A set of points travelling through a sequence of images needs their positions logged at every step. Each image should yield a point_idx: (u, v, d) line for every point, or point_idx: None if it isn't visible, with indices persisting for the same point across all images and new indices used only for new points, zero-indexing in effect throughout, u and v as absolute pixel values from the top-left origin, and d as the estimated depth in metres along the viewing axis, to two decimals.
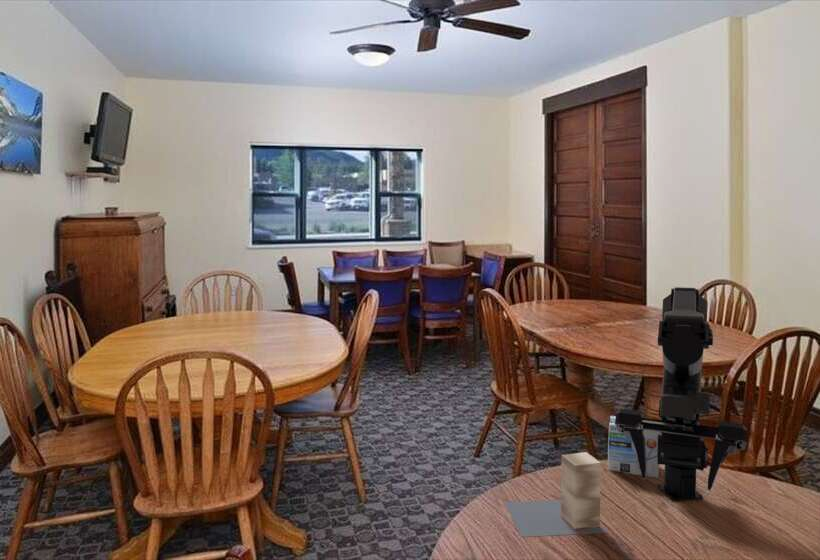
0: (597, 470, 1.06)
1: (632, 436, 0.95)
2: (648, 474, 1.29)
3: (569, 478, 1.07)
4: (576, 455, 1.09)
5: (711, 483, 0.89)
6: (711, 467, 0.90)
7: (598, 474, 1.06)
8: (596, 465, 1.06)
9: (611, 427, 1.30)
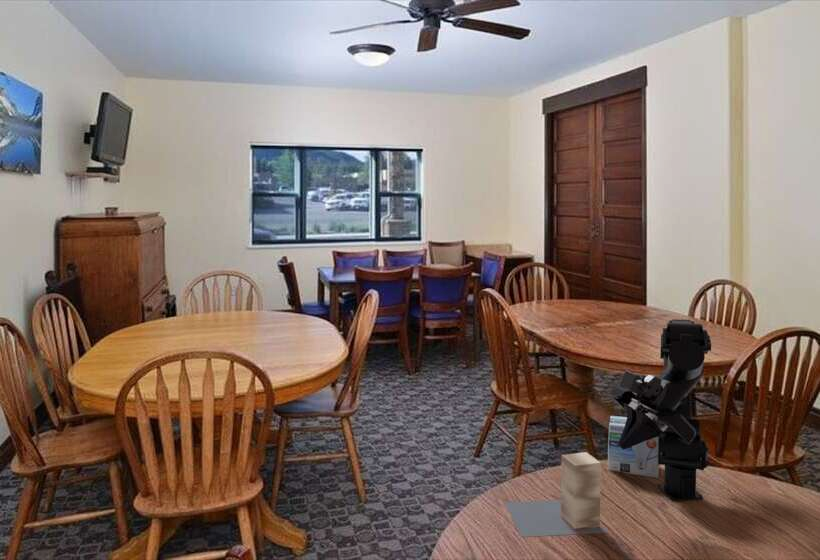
0: (597, 470, 1.06)
1: (627, 412, 1.12)
2: (648, 474, 1.29)
3: (569, 478, 1.07)
4: (576, 455, 1.09)
5: (622, 442, 1.09)
6: (629, 431, 1.09)
7: (598, 474, 1.06)
8: (596, 465, 1.06)
9: (611, 427, 1.30)
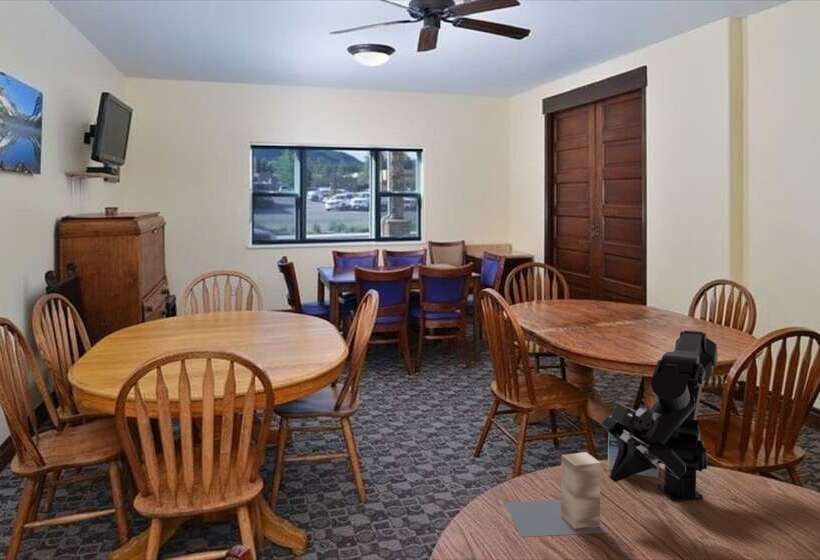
0: (597, 470, 1.06)
1: (618, 444, 1.12)
2: (648, 474, 1.29)
3: (569, 478, 1.07)
4: (576, 455, 1.09)
5: (614, 475, 1.09)
6: (620, 464, 1.10)
7: (598, 474, 1.06)
8: (596, 465, 1.06)
9: None
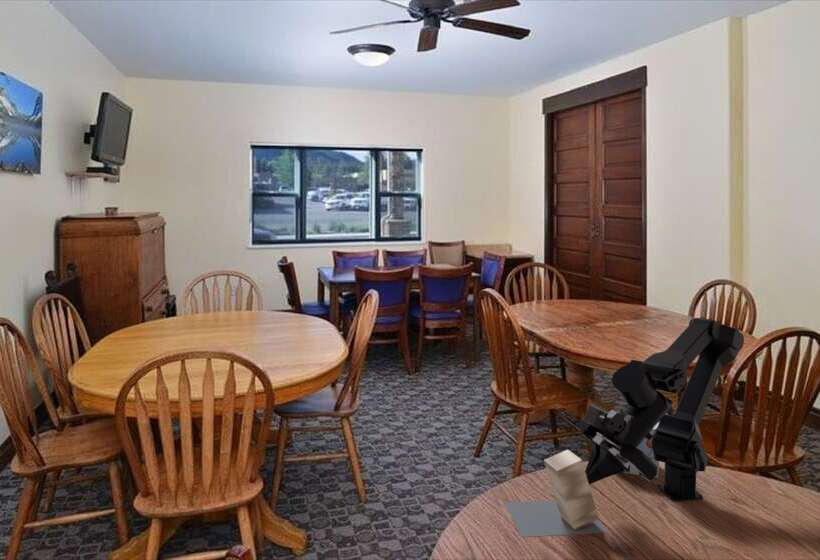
0: (580, 468, 1.05)
1: (591, 447, 1.11)
2: None
3: (556, 482, 1.07)
4: (558, 456, 1.09)
5: None
6: (592, 467, 1.08)
7: (582, 471, 1.06)
8: (578, 463, 1.05)
9: None
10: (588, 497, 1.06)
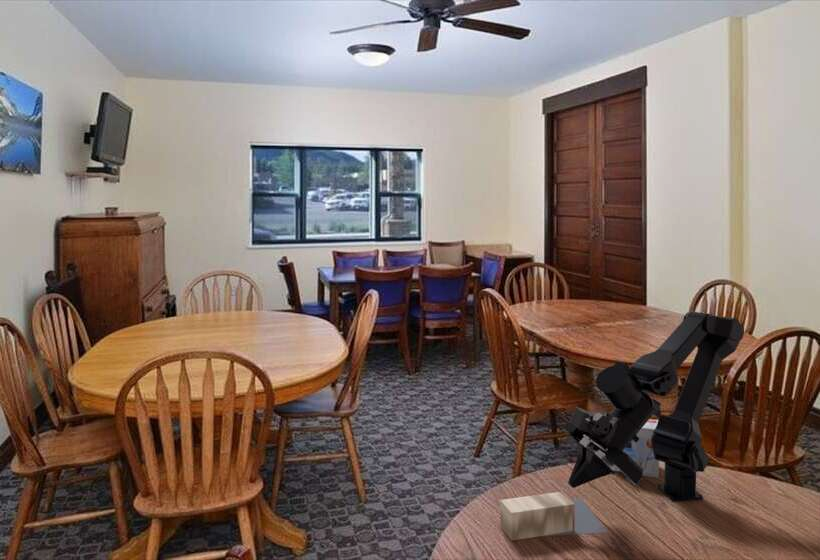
0: (518, 515, 1.03)
1: (578, 449, 1.10)
2: (648, 474, 1.29)
3: None
4: (502, 515, 1.07)
5: (572, 480, 1.08)
6: (579, 469, 1.08)
7: (522, 513, 1.03)
8: (513, 517, 1.03)
9: None
10: (549, 511, 1.05)
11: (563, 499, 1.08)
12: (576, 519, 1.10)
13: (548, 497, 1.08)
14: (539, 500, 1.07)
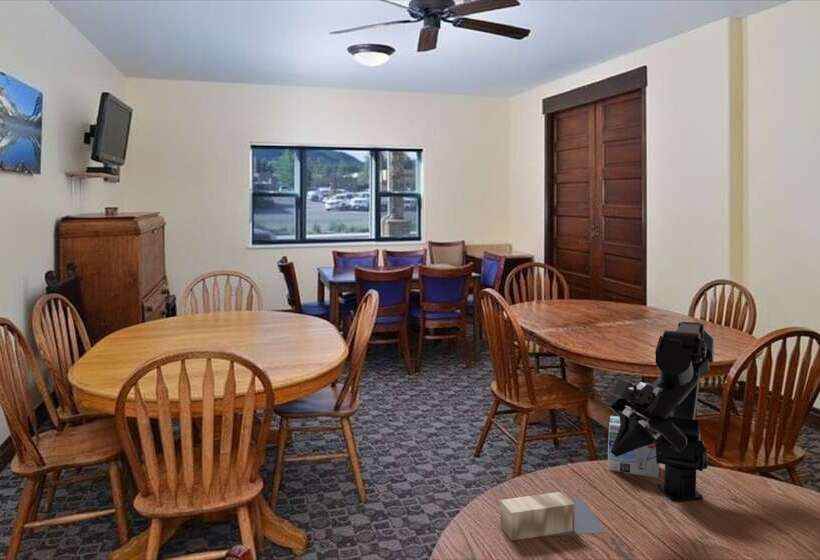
0: (518, 515, 1.03)
1: (620, 420, 1.12)
2: (648, 474, 1.29)
3: None
4: (502, 515, 1.07)
5: (615, 449, 1.09)
6: (621, 438, 1.10)
7: (522, 513, 1.03)
8: (513, 517, 1.03)
9: (611, 427, 1.30)
10: (549, 511, 1.05)
11: (563, 499, 1.08)
12: (576, 519, 1.10)
13: (548, 497, 1.08)
14: (539, 500, 1.07)
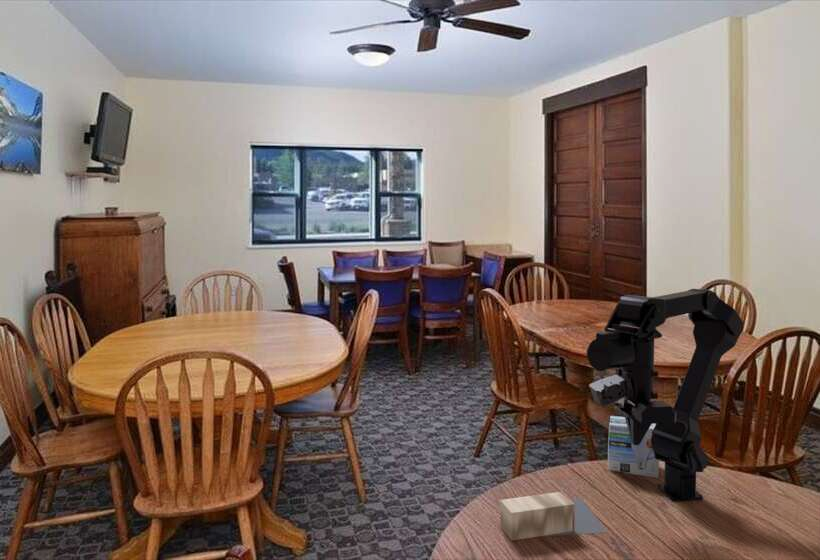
0: (518, 515, 1.03)
1: None
2: (648, 474, 1.29)
3: None
4: (502, 515, 1.07)
5: (633, 441, 1.12)
6: (631, 429, 1.12)
7: (522, 513, 1.03)
8: (513, 517, 1.03)
9: (611, 427, 1.30)
10: (549, 511, 1.05)
11: (563, 499, 1.08)
12: (576, 519, 1.10)
13: (548, 497, 1.08)
14: (539, 500, 1.07)
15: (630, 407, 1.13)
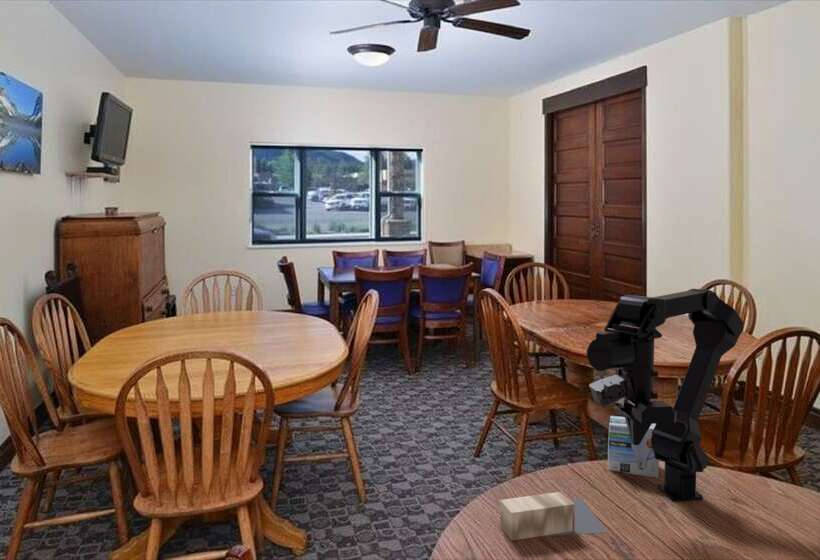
0: (518, 515, 1.03)
1: None
2: (648, 474, 1.29)
3: None
4: (502, 515, 1.07)
5: (633, 441, 1.12)
6: (631, 429, 1.12)
7: (522, 513, 1.03)
8: (513, 517, 1.03)
9: (611, 427, 1.30)
10: (549, 511, 1.05)
11: (563, 499, 1.08)
12: (576, 519, 1.10)
13: (548, 497, 1.08)
14: (539, 500, 1.07)
15: (630, 407, 1.13)
